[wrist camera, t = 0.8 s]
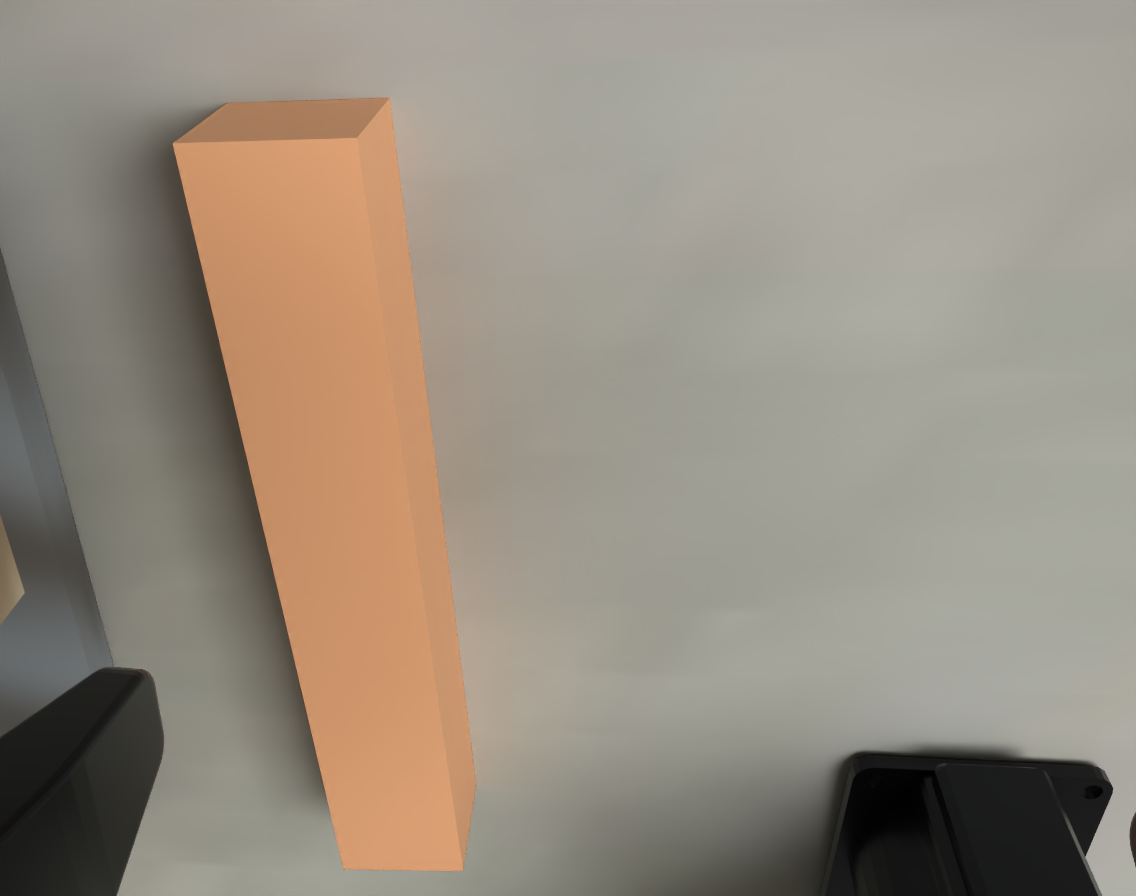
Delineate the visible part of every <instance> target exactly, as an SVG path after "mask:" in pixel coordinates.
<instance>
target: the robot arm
mask: <svg viewBox="0 0 1136 896" xmlns="http://www.w3.org/2000/svg"><path fill="white" fill-rule="evenodd" d="M163 749H164V733H163V727H162V721H161V716H160V710H159V705H158V699H157V693H156V688H155V683H154V680H153V677H152V676H151V674H150V673H149V672H148V671H145V670H142V669H132V668H120V667H104V668H101V669H99V670H97V671H95V672H93V673H92V674H91V675H89V676H88V677H86V678H85V679H83V680H82V681H80V682H79V683H77V684H76V685H75V686H73V687H72V688H70V689H69V690H67V691H66V692H64V693H63V694H62V695H60V696H59V697H57V698H56V699H54V700H53V701H51V702H50V703H48V704H47V705H46V706H44V707H43V708H41V709H40V710H38V711H37V712H35V713H34V714H32V715H31V716H30V717H28V718H27V719H25V720H24V721H22V722H21V723H19V724H18V725H17V726H15V727H14V728H12V729H11V730H9V731H8V732H6V733H5V734H3V735H2V736H1V737H0V896H117V893H118V890H119V887H120V884H121V881H122V878H123V875H124V872H125V869H126V866H127V863H128V860H129V857H130V854H131V851H132V848H133V845H134V842H135V839H136V836H137V833H138V830H139V827H140V824H141V821H142V818H143V815H144V812H145V809H146V806H147V803H148V800H149V797H150V794H151V791H152V788H153V785H154V782H155V779H156V776H157V773H158V770H159V767H160V763H161V760H162V755H163ZM872 774H874V775H872ZM868 775H872V776H868ZM1112 793H1113V787H1112V785H1111V783H1110V781H1109V779H1108V777H1107V775H1106V773H1105V771H1104V770H1102V769H1101V768H1099V767H1094V766H1078V765H1058V764H1038V763H1017V762H997V761H977V760H957V759H936V758H916V757H896V756H875V755H871V756H863V757H861V758H858V759H857V760H855V761H854V762H853V763H852V764H851V766H850V768H849V773H848V777H847V781H846V785H845V790H844V794H843V798H842V803H841V807H840V811H839V816H838V820H837V824H836V828H835V833H834V837H833V841H832V846H831V850H830V854H829V859H828V863H827V867H826V871H825V876H824V880H823V884H822V889H821V893H820V896H1102V894H1101V892H1100V890H1099V887H1098V885H1097V883H1096V881H1095V878H1094V876H1093V874H1092V872H1091V869H1090V867H1089V865H1088V863H1087V860H1086V858H1085V856H1086V854H1087V852H1088V849H1089V847H1090V845H1091V842H1092V840H1093V838H1094V835H1095V833H1096V831H1097V828H1098V826H1099V824H1100V821H1101V819H1102V817H1103V814H1104V812H1105V809H1106V807H1107V805H1108V802H1109V800H1110V798H1111V795H1112ZM1130 846H1131V851H1132V855H1133V858H1134V862H1135V866H1136V812H1135V814H1134V816H1133V819H1132V822H1131V827H1130Z"/></svg>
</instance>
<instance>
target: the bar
mask: <svg viewBox="0 0 1136 896" xmlns="http://www.w3.org/2000/svg"><path fill="white" fill-rule="evenodd" d="M173 147H174V151H175V156H176V160H177V164H178V168H179V173H180V177H181V181H182V185H183V190H184V194H185V198H186V202H187V207H188V211H189V215H190V219H191V224H192V228H193V232H194V236H195V241H196V245H197V249H198V253H199V258H200V262H201V266H202V270H203V275H204V279H205V283H206V287H207V292H208V296H209V300H210V304H211V308H212V313H213V317H214V321H215V325H216V330H217V334H218V338H219V342H220V347H221V351H222V355H223V359H224V364H225V368H226V372H227V376H228V381H229V385H230V389H231V393H232V398H233V402H234V406H235V410H236V415H237V419H238V423H239V427H240V432H241V436H242V440H243V444H244V449H245V453H246V457H247V461H248V466H249V470H250V474H251V478H252V483H253V487H254V491H255V495H256V500H257V504H258V508H259V512H260V517H261V521H262V525H263V529H264V533H265V538H266V542H267V546H268V550H269V555H270V559H271V563H272V567H273V572H274V576H275V580H276V584H277V589H278V593H279V597H280V601H281V606H282V610H283V614H284V618H285V623H286V627H287V631H288V635H289V640H290V644H291V648H292V652H293V657H294V661H295V665H296V669H297V674H298V678H299V682H300V686H301V691H302V695H303V699H304V703H305V708H306V712H307V716H308V720H309V725H310V729H311V733H312V737H313V742H314V746H315V750H316V754H317V758H318V763H319V767H320V771H321V775H322V780H323V784H324V788H325V792H326V797H327V801H328V805H329V809H330V814H331V818H332V822H333V826H334V831H335V835H336V839H337V843H338V848H339V852H340V856H341V860H342V865H343V869H360V870H425V871H463V868H464V862H465V855H466V849H467V842H468V836H469V830H470V823H471V817H472V810H473V804H474V797H475V791H476V778H475V770H474V762H473V754H472V746H471V738H470V731H469V723H468V715H467V707H466V699H465V691H464V683H463V675H462V667H461V659H460V651H459V643H458V635H457V627H456V619H455V611H454V603H453V596H452V588H451V580H450V572H449V564H448V556H447V548H446V540H445V532H444V524H443V516H442V508H441V500H440V492H439V484H438V476H437V469H436V461H435V453H434V445H433V437H432V429H431V421H430V413H429V405H428V397H427V389H426V381H425V373H424V365H423V357H422V349H421V342H420V334H419V326H418V318H417V310H416V302H415V294H414V286H413V278H412V270H411V262H410V254H409V246H408V238H407V230H406V222H405V214H404V207H403V199H402V191H401V183H400V175H399V167H398V159H397V151H396V143H395V135H394V127H393V119H392V111H391V103H390V98H367V99H337V100H306V101H276V102H245V103H226V104H225V105H224V106H222V107H221V108H220V109H218V110H217V111H216V112H214V113H213V114H211V115H210V116H209V117H207V118H206V119H205V120H203V121H202V122H201V123H199V124H198V125H197V126H195V127H194V128H193V129H191V130H190V131H189V132H187V133H186V134H184V135H183V136H182V137H180V138H179V139H178V140H176V141H175V142H174V143H173Z"/></svg>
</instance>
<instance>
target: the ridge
mask: <svg viewBox="0 0 1136 896" xmlns="http://www.w3.org/2000/svg"><path fill="white" fill-rule="evenodd" d="M104 667H114V665H113V662H112V658H111V654H110V651H109V647H108V643H107V640H106V636H105V632H104V629H103V625H102V621H101V617H100V614H99V610H98V606H97V603H96V599H95V595H94V592H93V588H92V584H91V581H90V577H89V573H88V570H87V566H86V562H85V559H84V555H83V551H82V548H81V544H80V540H79V537H78V533H77V529H76V525H75V522H74V518H73V514H72V511H71V507H70V503H69V500H68V496H67V492H66V489H65V485H64V481H63V478H62V474H61V470H60V467H59V463H58V459H57V456H56V452H55V448H54V445H53V441H52V437H51V434H50V430H49V426H48V422H47V419H46V415H45V411H44V408H43V404H42V400H41V397H40V393H39V389H38V386H37V382H36V378H35V375H34V371H33V367H32V364H31V360H30V356H29V353H28V349H27V345H26V342H25V338H24V334H23V331H22V327H21V323H20V319H19V316H18V312H17V308H16V305H15V301H14V297H13V294H12V290H11V286H10V283H9V279H8V275H7V272H6V268H5V264H4V261H3V257H2V253H1V250H0V737H1V736H2V735H3V734H5V733H6V732H8V731H9V730H11V729H12V728H14V727H15V726H17V725H18V724H19V723H21V722H22V721H24V720H25V719H27V718H28V717H30V716H31V715H32V714H34V713H35V712H37V711H38V710H40V709H41V708H43V707H44V706H46V705H47V704H48V703H50V702H51V701H53V700H54V699H56V698H57V697H59V696H60V695H62V694H63V693H64V692H66V691H67V690H69V689H70V688H72V687H73V686H75V685H76V684H77V683H79V682H80V681H82V680H83V679H85V678H86V677H88V676H89V675H91V674H92V673H93V672H95V671H97V670H99V669H101V668H104Z"/></svg>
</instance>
